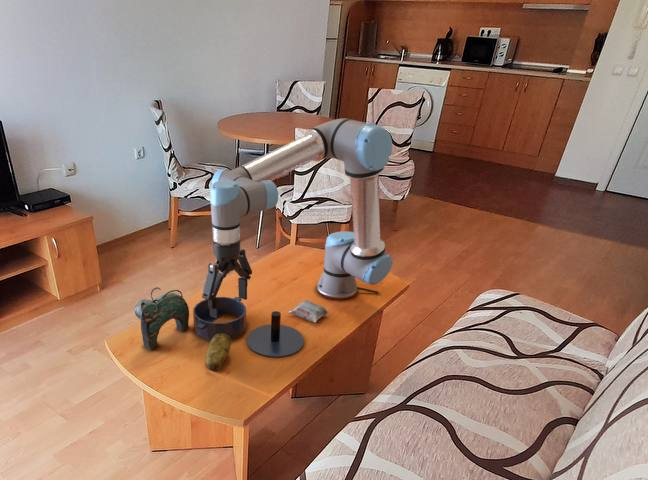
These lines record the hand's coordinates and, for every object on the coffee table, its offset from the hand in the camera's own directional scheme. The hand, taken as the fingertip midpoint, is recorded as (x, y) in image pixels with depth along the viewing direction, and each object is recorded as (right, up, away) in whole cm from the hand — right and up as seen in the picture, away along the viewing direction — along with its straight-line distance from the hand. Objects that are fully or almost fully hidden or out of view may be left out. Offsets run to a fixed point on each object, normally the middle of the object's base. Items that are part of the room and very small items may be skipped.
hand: (229, 307), depth 150 cm
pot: (-4, -4, +25) cm, 26 cm away
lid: (+15, -9, +17) cm, 24 cm away
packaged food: (+28, -1, +30) cm, 41 cm away
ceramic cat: (-22, -8, +20) cm, 31 cm away
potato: (-4, -16, +9) cm, 19 cm away
